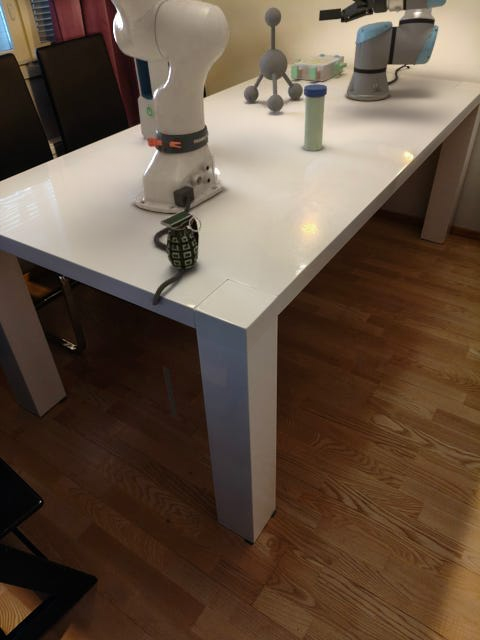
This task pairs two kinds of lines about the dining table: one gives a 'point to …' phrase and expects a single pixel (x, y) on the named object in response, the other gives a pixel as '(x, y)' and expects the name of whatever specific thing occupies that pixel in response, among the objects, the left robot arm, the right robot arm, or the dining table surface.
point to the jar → (314, 123)
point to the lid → (315, 90)
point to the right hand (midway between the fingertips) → (314, 4)
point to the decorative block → (318, 67)
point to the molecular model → (273, 68)
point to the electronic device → (149, 92)
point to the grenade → (182, 240)
